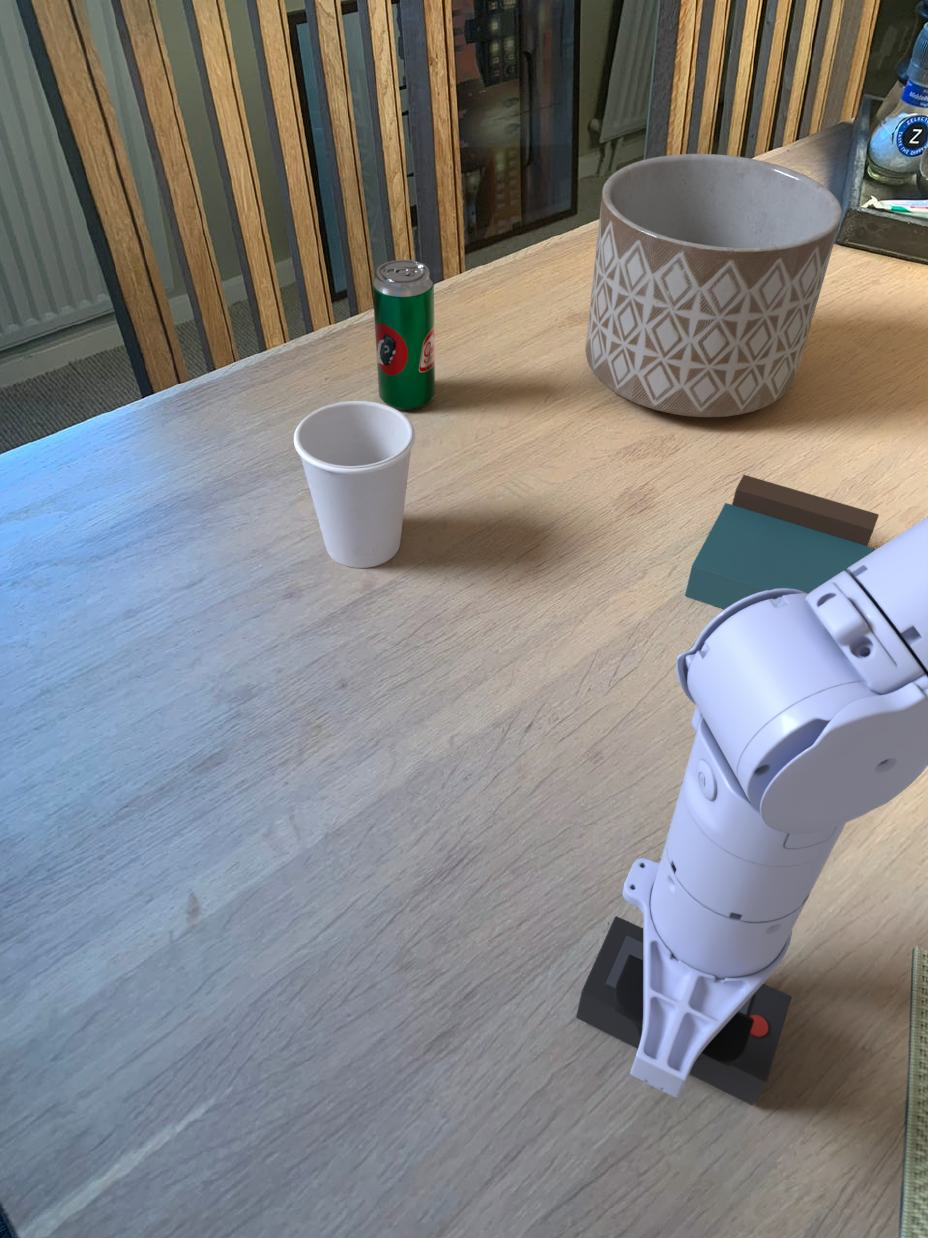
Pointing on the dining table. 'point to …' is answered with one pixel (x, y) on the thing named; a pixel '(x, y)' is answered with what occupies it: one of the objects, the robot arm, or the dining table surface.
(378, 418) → the dixie cup
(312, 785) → the dining table surface
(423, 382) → the soda can
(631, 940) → the remote
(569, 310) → the dining table surface
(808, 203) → the planter
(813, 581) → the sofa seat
